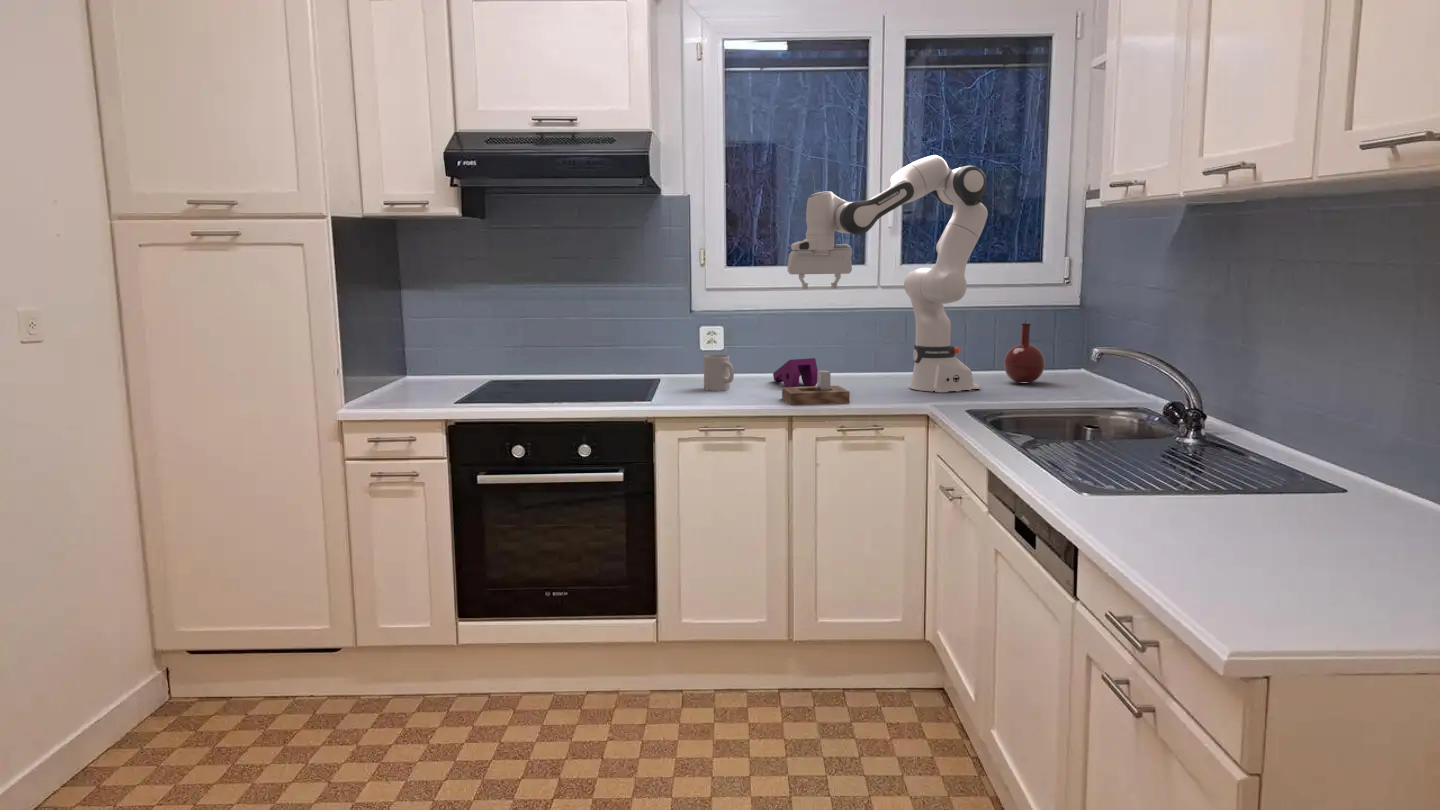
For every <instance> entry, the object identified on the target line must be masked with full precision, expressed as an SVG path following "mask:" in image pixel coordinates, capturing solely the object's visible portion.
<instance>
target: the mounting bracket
mask: <svg viewBox="0 0 1440 810" xmlns="http://www.w3.org/2000/svg"><path fill="white" fill-rule="evenodd" d="M817 371H819V370H818V365H817V361H816V358H815V357H812V358H797V359H793V358H792V359H789V360H788V361H786V362H785V363H784V364H783V365H781V366H780V367H778V368H777V369H776V370H775V371H774V372H773V374H772V377H773V380H774V382H783V384H784V386H785V387H799V384H800V377H801V381H802V384H803V385H804V386H805V385H806V386H805V387H807V386H817Z"/></svg>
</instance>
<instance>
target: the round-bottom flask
mask: <svg viewBox="0 0 1440 810" xmlns="http://www.w3.org/2000/svg"><path fill="white" fill-rule="evenodd" d="M1020 324H1021V337H1020V338H1021V340H1020V344H1017V345H1015V346H1013V347H1012V348H1011V349H1009V350H1008V351H1007V352H1006V355H1005V357H1004V358H1003V359H1004V361H1003V367H1004V372H1005V374H1006V375H1007V376H1008V378H1009V379H1010V380H1012V381H1014V382H1015V383H1018V382H1031V383H1033V382H1035V381H1037V380H1038V379H1039V378H1040V377H1041V376H1042V375H1043V373H1044V370H1045V367H1046V361H1045V360H1046V359H1045V356H1044V355H1043V353H1042V351H1041V350H1040V349H1039V348H1038V347H1036V346H1034V345H1032V344H1030V338H1031V337H1030V336H1031V326H1032V324H1031V323H1020Z"/></svg>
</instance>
